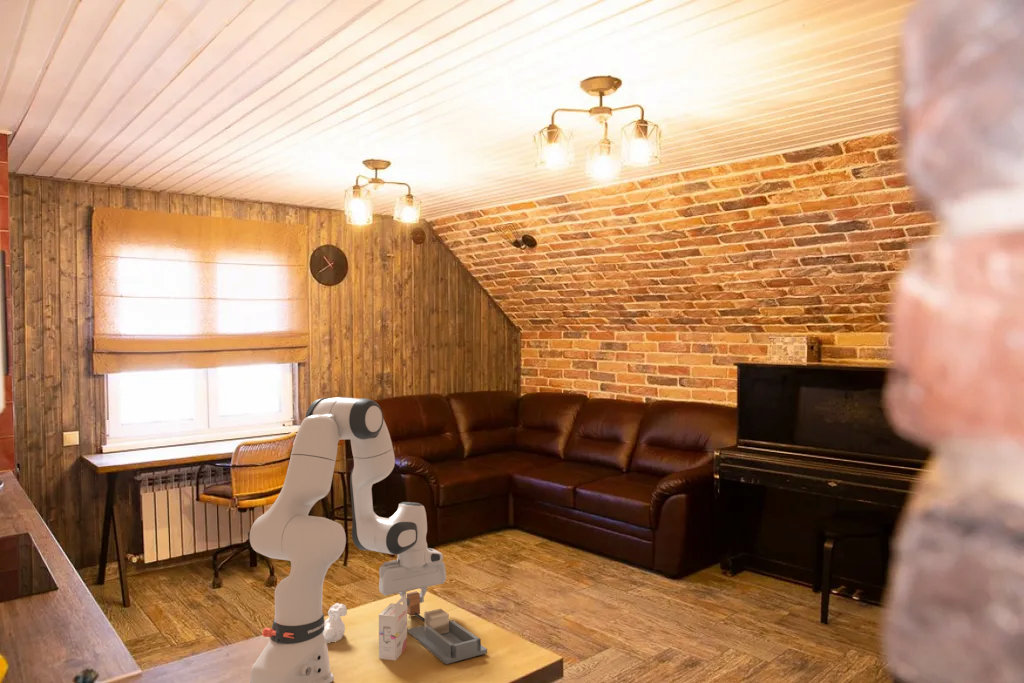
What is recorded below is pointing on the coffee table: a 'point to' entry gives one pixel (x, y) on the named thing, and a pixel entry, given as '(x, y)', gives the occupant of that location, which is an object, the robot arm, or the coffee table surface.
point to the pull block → (428, 614)
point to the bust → (334, 623)
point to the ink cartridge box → (393, 630)
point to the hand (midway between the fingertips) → (413, 603)
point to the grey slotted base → (449, 642)
